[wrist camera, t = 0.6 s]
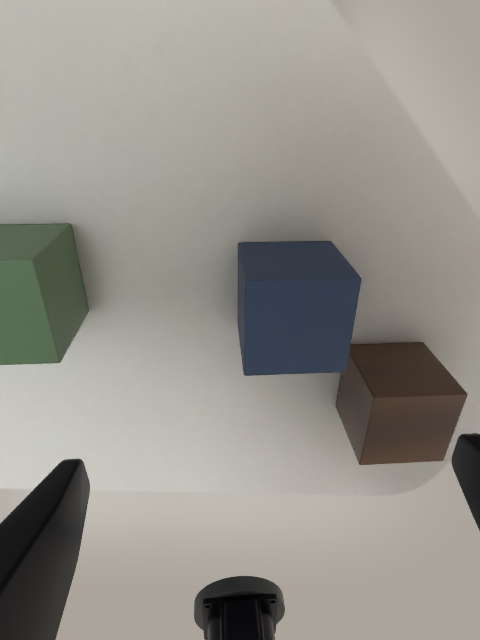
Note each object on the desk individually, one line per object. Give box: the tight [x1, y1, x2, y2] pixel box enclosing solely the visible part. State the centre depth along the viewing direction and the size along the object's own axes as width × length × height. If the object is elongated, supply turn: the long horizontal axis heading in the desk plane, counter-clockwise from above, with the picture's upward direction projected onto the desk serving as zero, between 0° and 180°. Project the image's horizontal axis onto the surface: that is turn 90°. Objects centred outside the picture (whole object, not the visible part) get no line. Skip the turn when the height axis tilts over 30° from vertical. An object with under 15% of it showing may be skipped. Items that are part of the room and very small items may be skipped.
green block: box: [0, 224, 89, 365], centre depth 17 cm, size 4×4×4 cm
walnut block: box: [336, 343, 467, 465], centre depth 22 cm, size 4×4×4 cm
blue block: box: [238, 241, 361, 376], centre depth 18 cm, size 4×4×4 cm
